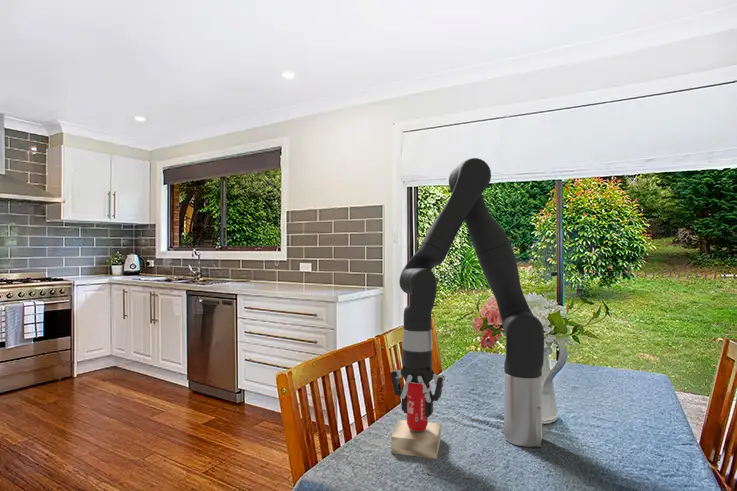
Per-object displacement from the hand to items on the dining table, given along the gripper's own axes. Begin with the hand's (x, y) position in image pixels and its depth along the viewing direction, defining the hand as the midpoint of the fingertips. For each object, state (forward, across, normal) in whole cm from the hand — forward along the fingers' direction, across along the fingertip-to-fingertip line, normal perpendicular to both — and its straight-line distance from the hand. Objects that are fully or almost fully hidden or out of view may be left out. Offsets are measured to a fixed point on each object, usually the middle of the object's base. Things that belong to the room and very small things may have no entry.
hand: (417, 413), depth 111 cm
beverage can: (+4, 0, 0) cm, 4 cm away
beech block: (+8, 0, 0) cm, 8 cm away
